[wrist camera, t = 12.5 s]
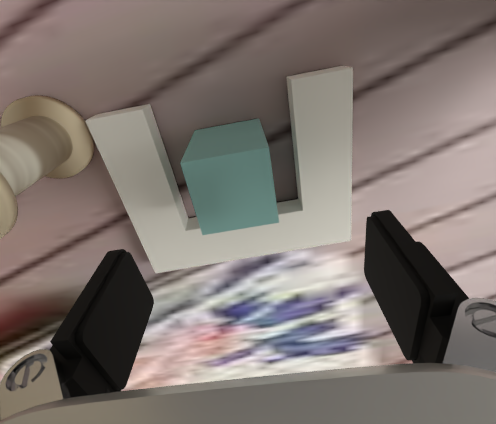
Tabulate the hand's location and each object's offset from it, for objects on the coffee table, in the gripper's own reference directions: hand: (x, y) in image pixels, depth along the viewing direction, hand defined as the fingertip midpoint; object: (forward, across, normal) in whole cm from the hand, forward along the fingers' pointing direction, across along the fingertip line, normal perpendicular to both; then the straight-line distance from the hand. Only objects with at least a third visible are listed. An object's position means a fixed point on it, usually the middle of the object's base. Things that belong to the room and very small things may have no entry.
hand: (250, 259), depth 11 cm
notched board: (+13, +1, +2) cm, 14 cm away
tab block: (+13, +1, 0) cm, 13 cm away
